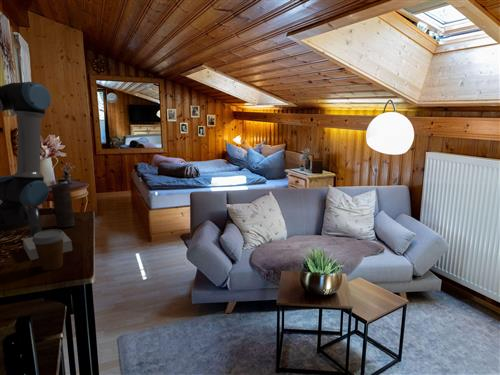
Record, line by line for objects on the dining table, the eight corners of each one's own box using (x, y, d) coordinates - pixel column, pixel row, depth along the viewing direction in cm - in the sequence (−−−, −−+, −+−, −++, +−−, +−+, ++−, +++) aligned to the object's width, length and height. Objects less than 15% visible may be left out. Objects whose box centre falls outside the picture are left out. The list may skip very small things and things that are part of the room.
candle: (67, 229, 160) (61, 186, 156) (52, 228, 162) (47, 185, 157) (78, 224, 168) (73, 182, 163) (64, 223, 169) (59, 182, 164)
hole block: (24, 248, 139) (22, 239, 138) (63, 240, 148) (62, 230, 147) (30, 260, 129) (29, 249, 128) (72, 250, 137) (71, 240, 137)
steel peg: (31, 238, 150) (26, 208, 147) (41, 236, 152) (37, 206, 150) (32, 241, 147) (28, 210, 144) (43, 238, 149) (39, 208, 147)
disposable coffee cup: (44, 261, 128) (40, 229, 125) (72, 260, 129) (68, 228, 126) (30, 273, 119) (25, 239, 116) (60, 272, 119) (56, 238, 117)
